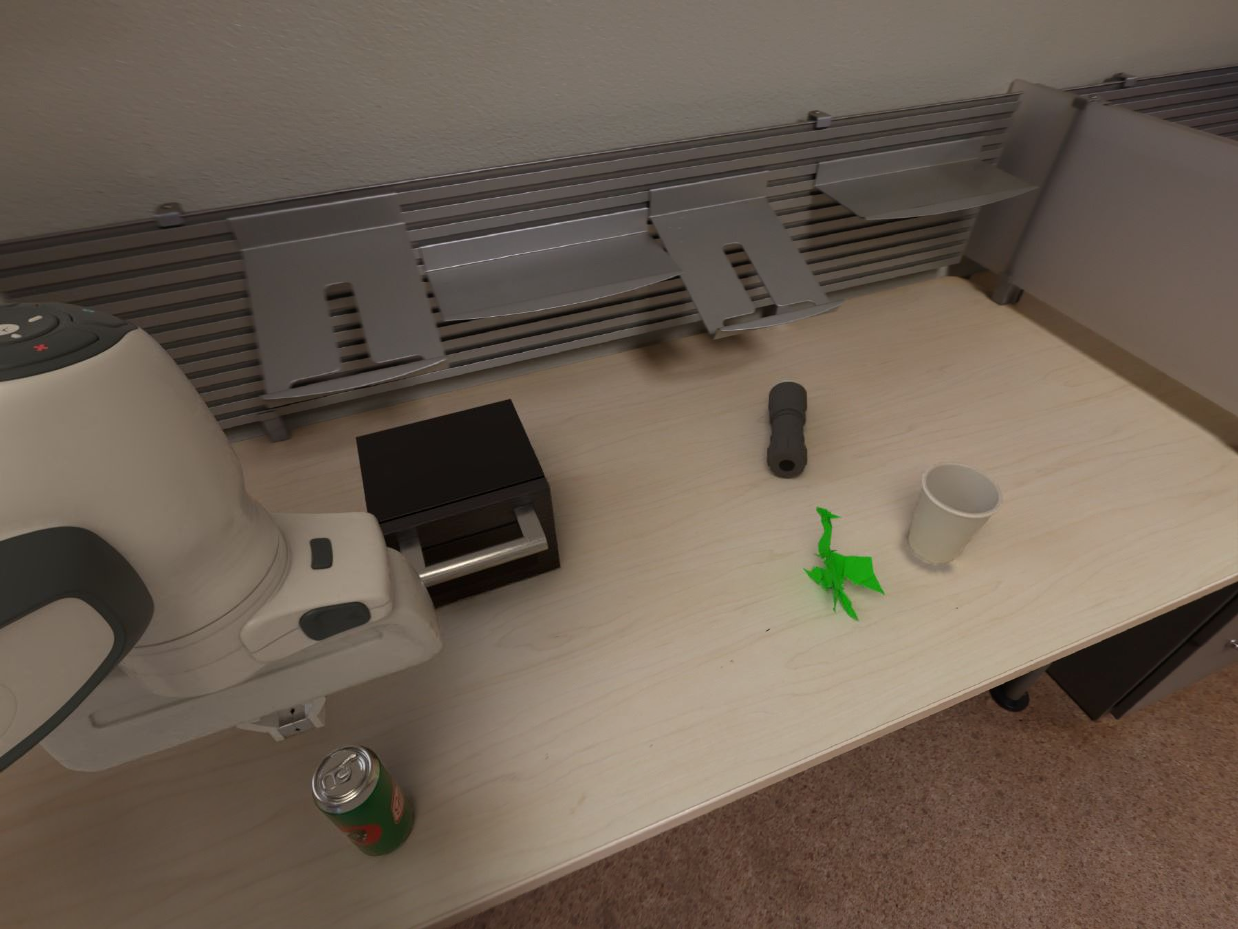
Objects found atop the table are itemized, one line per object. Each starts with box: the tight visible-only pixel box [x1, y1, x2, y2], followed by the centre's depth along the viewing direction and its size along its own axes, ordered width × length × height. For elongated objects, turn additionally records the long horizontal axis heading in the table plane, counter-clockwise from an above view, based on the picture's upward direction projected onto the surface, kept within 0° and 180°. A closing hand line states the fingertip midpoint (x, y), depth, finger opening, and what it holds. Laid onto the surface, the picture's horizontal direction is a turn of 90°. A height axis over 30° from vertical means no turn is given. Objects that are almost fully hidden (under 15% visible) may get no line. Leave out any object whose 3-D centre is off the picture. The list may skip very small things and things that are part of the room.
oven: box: [355, 398, 546, 524], centre depth 75 cm, size 14×18×14 cm
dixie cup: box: [907, 461, 1004, 564], centre depth 74 cm, size 8×8×10 cm
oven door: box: [379, 476, 562, 609], centre depth 68 cm, size 7×18×14 cm, turn 112°
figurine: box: [802, 506, 886, 622], centre depth 71 cm, size 6×12×9 cm, turn 21°
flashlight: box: [766, 379, 808, 479], centre depth 90 cm, size 15×5×5 cm, turn 169°
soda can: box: [311, 744, 414, 857], centre depth 52 cm, size 5×5×12 cm
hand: (302, 723), depth 42 cm, fingers closed
